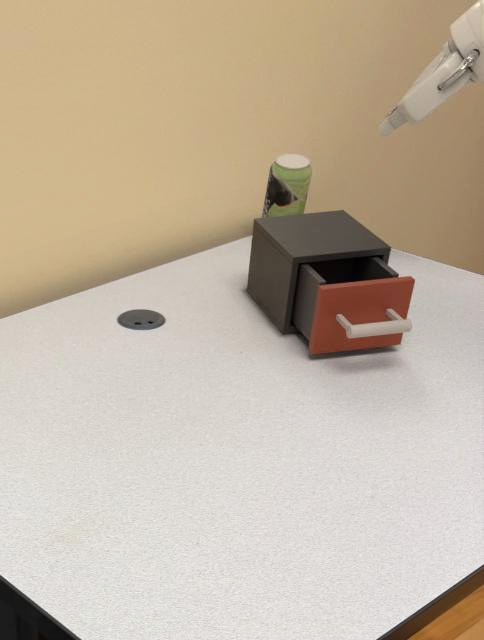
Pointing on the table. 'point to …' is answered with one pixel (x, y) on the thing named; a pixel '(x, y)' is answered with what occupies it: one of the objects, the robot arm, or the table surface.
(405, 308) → the drawer
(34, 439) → the table surface
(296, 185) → the beverage can
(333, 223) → the cabinet
